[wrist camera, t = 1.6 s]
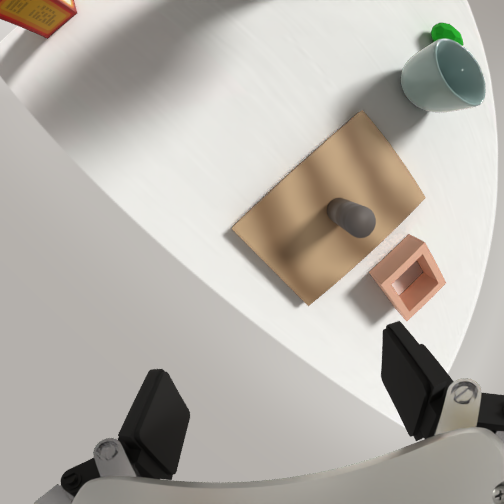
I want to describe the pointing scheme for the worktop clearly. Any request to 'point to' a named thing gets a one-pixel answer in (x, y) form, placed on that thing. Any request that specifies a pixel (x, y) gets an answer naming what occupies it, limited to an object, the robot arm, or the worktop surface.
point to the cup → (443, 78)
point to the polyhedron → (446, 33)
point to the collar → (398, 264)
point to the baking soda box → (38, 14)
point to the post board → (306, 202)
